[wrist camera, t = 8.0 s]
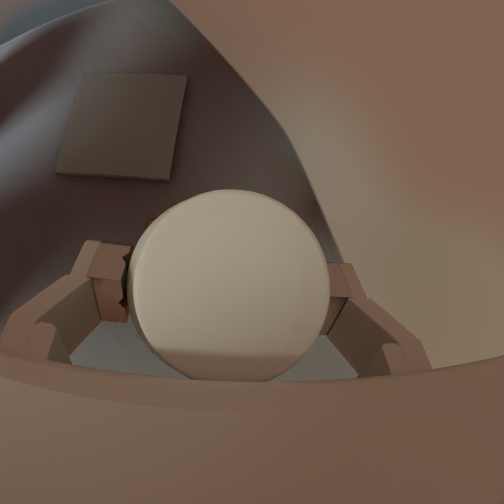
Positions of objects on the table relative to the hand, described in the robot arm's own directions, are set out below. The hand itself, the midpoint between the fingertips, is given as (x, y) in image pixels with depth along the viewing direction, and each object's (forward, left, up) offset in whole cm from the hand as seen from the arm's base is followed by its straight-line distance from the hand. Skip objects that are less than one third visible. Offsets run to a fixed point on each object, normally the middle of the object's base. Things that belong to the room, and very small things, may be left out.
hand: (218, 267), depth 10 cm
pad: (-9, +13, -17) cm, 24 cm away
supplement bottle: (0, -1, -6) cm, 6 cm away
